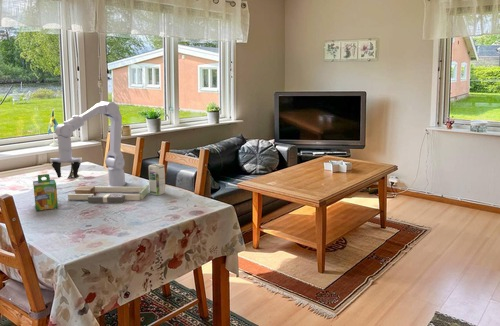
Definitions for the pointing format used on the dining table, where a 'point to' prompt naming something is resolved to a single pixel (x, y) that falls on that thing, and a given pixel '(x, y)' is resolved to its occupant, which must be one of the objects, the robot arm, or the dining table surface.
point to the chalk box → (45, 193)
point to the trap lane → (107, 197)
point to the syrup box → (157, 179)
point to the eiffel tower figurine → (71, 175)
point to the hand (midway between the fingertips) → (67, 177)
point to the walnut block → (85, 190)
